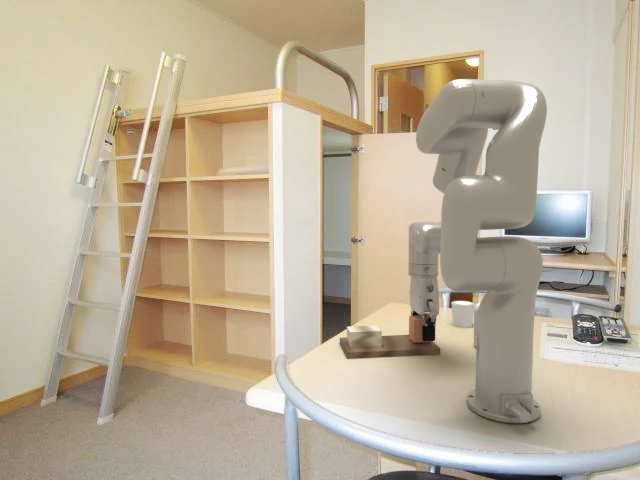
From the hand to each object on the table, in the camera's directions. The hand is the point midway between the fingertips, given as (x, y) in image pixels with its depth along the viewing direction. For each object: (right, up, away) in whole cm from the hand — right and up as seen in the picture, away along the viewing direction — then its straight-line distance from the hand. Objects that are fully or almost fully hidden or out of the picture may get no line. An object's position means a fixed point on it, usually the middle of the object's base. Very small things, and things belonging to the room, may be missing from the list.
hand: (422, 335), depth 116 cm
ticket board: (-9, -3, -1) cm, 10 cm away
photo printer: (+17, -3, -3) cm, 18 cm away
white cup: (+17, -1, +20) cm, 26 cm away
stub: (-1, -1, 0) cm, 1 cm away
